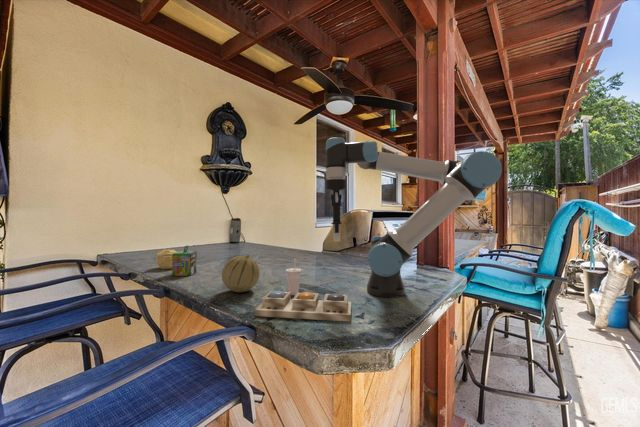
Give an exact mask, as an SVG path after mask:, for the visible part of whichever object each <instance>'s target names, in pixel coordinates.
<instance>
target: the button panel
mask: <svg viewBox="0 0 640 427" xmlns="http://www.w3.org/2000/svg"><path fill="white" fill-rule="evenodd" d="M270 292H273V291H269V292H267V293H266V294H265V295H264V296H263V297H262V301H261V303H260V304H259V305H258V306H257V307H256V308H255V309H254V317H263V318H264V317H266V318H282V319H285V318H286V319H301V320H302V319H303V320H319V321H320V320H321V321H332V322H333V321H334V322H337V321H338V322H351V318H352V317H351V316H352V301H348V294H342V295H343V301H330V300H328V295H329V294H330V293H325V294H324V297H323V300H322V299H319V296H320V294H319V293H313V300H310V299H299V293H300V292H298V293H297V294H296V295H294V297H293V298H292V297H291V296H292V295H291V292H289V291H283V292H284V297H283V298H270Z"/></svg>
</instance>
